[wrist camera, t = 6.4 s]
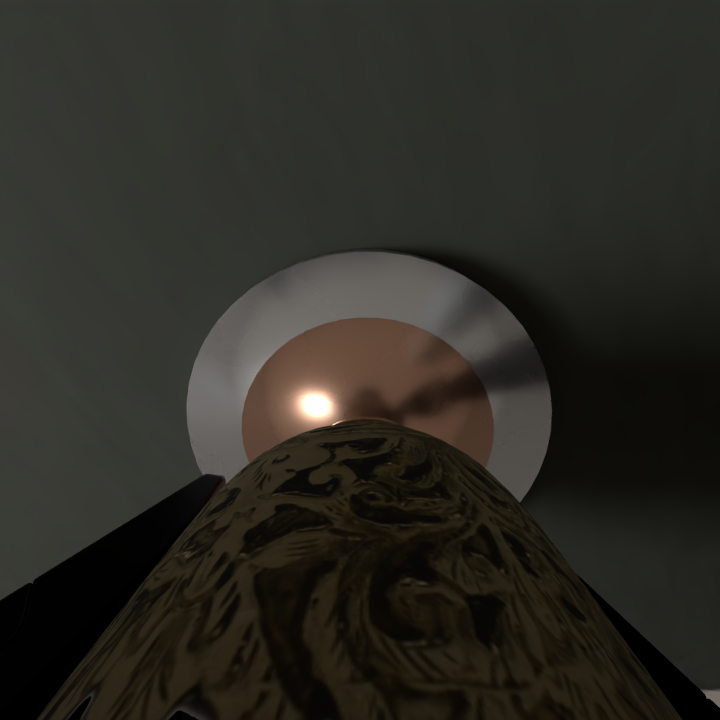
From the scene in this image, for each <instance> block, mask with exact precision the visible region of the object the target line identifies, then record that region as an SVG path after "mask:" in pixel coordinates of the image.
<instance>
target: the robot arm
mask: <svg viewBox="0 0 720 720" xmlns="http://www.w3.org/2000/svg"><path fill="white" fill-rule="evenodd" d="M224 485H226V479H225V477H224V476H221V475H215V474H210V473H207V474H204V475H203V476H201V477H199V478H198V479H196V480H195V481H193V482H191V483H190V484H188V485H186V486H185V487H183V488H182V489H180V490H178V491H177V492H175V493H173V494H172V495H170V496H169V497H167V498H165V499H164V500H162V501H161V502H159V503H157V504H156V505H154V506H152V507H151V508H149V509H148V510H146V511H144V512H143V513H141V514H139V515H138V516H136V517H135V518H133V519H131V520H130V521H128V522H127V523H125V524H123V525H122V526H120V527H118V528H117V529H115V530H114V531H112V532H110V533H109V534H107V535H105V536H104V537H102V538H101V539H99V540H97V541H96V542H94V543H93V544H91V545H89V546H88V547H86V548H84V549H83V550H81V551H80V552H78V553H76V554H75V555H73V556H72V557H70V558H68V559H67V560H65V561H63V562H62V563H60V564H59V565H57V566H55V567H54V568H52V569H50V570H49V571H47V572H46V573H44V574H42V575H41V576H39V577H38V578H36V579H35V580H34V581H33V584H32V583H28V584H26V585H24V586H23V587H21V588H19V589H18V590H16V591H15V592H13V593H11V594H10V595H8V596H6V597H5V598H3V599H2V600H0V720H36V719H37V718H38V716H39V715H40V714H41V713H42V711H43V710H44V709H45V707H46V706H47V705H48V703H49V702H50V701H51V700H52V698H53V697H54V696H55V694H56V693H57V692H58V691H59V689H60V688H61V687H62V685H63V684H64V683H65V682H66V680H67V679H68V678H69V676H70V675H71V674H72V673H73V671H74V670H75V669H76V667H77V666H78V665H79V663H80V662H81V661H82V660H83V658H84V657H85V656H86V654H87V653H88V652H89V651H90V649H91V648H92V647H93V645H94V644H95V643H96V642H97V640H98V639H99V638H100V636H101V635H102V634H103V633H104V631H105V630H106V629H107V628H108V626H109V625H110V624H111V622H112V621H113V620H114V619H115V617H116V616H117V615H118V613H119V612H120V611H121V610H122V608H123V607H124V606H125V605H126V603H127V602H128V601H129V599H130V598H131V597H132V596H133V594H134V593H135V592H136V591H137V589H138V588H139V587H140V585H141V584H142V583H143V582H144V580H145V579H146V578H147V577H148V575H149V574H150V573H151V572H152V570H153V569H154V568H155V567H156V565H157V564H158V563H159V561H160V560H161V559H162V558H163V556H164V555H165V554H166V553H167V551H168V550H169V549H170V548H171V546H172V545H173V544H174V543H175V541H176V540H177V539H178V538H179V536H180V535H181V534H182V533H183V531H184V530H185V529H186V528H187V527H188V525H189V524H190V523H191V522H192V521H193V519H194V518H195V517H196V516H197V515H198V513H199V512H200V511H201V510H202V509H203V508H204V507H205V505H206V504H207V503H208V502H209V501H210V500H211V499H212V498H213V497H214V496H215V495H216V494H217V493H218V492H219V490H220V489H221V488H222V487H223V486H224ZM576 575H577V574H576ZM577 576H578V575H577ZM578 577H579V576H578ZM579 579H580V580H581V581H582V583H583V584H584V585H585V587H586V588H587V590H588V591H589V592H590V594H591V595H592V596H593V598H594V599H595V600H596V602H597V603H598V604H599V606H600V607H601V609H602V610H603V611H604V613H605V614H606V615H607V617H608V618H609V619H610V621H611V622H612V624H613V625H614V626H615V628H616V629H617V630H618V632H619V633H620V634H621V636H622V637H623V639H624V640H625V641H626V643H627V644H628V645H629V647H630V648H631V650H632V651H633V652H634V654H635V655H636V656H637V658H638V659H639V661H640V662H641V663H642V665H643V666H644V667H645V669H646V670H647V672H648V673H649V674H650V676H651V677H652V678H653V680H654V681H655V683H656V684H657V685H658V687H659V688H660V689H661V691H662V692H663V694H664V695H665V696H666V698H667V699H668V701H669V702H670V703H671V705H672V706H673V707H674V709H675V710H676V712H677V713H678V714H679V716H680V717H681V718H682V720H720V708H719V707H718V706H717V705H716V704H715V703H714V702H713V701H711V700H710V699H706V696H705V694H704V693H703V692H702V691H701V690H700V689H699V688H698V687H697V686H696V685H695V684H693V683H692V682H691V681H690V680H689V679H688V678H687V677H686V676H685V675H684V674H683V673H682V672H681V671H680V670H679V669H677V668H676V667H675V666H674V665H673V664H672V663H671V662H670V661H669V660H668V659H667V658H666V657H665V656H664V655H663V654H661V653H660V652H659V651H658V650H657V649H656V648H655V647H654V646H653V645H652V644H651V643H650V642H649V641H648V640H647V639H645V638H644V637H643V636H642V635H641V634H640V633H639V632H638V631H637V630H636V629H635V628H634V627H633V626H632V625H631V624H629V623H628V622H627V621H626V620H625V619H624V618H623V617H622V616H621V615H620V614H619V613H618V612H617V611H616V610H615V609H613V608H612V607H611V606H610V605H609V604H608V603H607V602H606V601H605V600H604V599H603V598H602V597H601V596H600V595H599V594H597V593H596V592H595V591H594V590H593V589H592V588H591V587H590V586H589V585H588V584H587V583H586V582H585V581H584V580H583V579H581V578H580V577H579Z"/></svg>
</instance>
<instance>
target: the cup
mask: <svg viewBox="0 0 720 720" xmlns="http://www.w3.org/2000/svg"><path fill="white" fill-rule="evenodd" d="M36 720H682V718H681V717H680V716H679V714H678V713H677V712H676V710H675V709H674V707H673V706H672V705H671V703H670V702H669V701H668V699H667V698H666V696H665V695H664V694H663V692H662V691H661V689H660V688H659V687H658V685H657V684H656V683H655V681H654V680H653V678H652V677H651V676H650V674H649V673H648V672H647V670H646V669H645V667H644V666H643V665H642V663H641V662H640V661H639V659H638V658H637V656H636V655H635V654H634V652H633V651H632V650H631V648H630V647H629V645H628V644H627V643H626V641H625V640H624V639H623V637H622V636H621V634H620V633H619V632H618V630H617V629H616V628H615V626H614V625H613V624H612V622H611V621H610V619H609V618H608V617H607V615H606V614H605V613H604V611H603V610H602V609H601V607H600V606H599V604H598V603H597V602H596V600H595V599H594V598H593V596H592V595H591V594H590V592H589V591H588V590H587V588H586V587H585V585H584V584H583V583H582V581H581V580H580V579H579V577H578V576H577V575H576V573H575V572H574V571H573V569H572V568H571V567H570V565H569V564H568V563H567V561H566V560H565V558H564V557H563V556H562V555H561V553H560V552H559V551H558V549H557V548H556V547H555V546H554V544H553V543H552V542H551V540H550V539H549V538H548V537H547V535H546V534H545V533H544V531H543V530H542V529H541V528H540V526H539V525H538V524H537V523H536V522H535V520H534V519H533V518H532V517H531V515H530V514H529V513H528V512H527V511H526V510H525V508H524V507H523V506H522V505H521V504H520V503H519V501H518V500H517V499H516V498H515V497H514V496H513V495H512V493H511V492H510V491H509V490H508V489H507V488H506V487H505V486H504V485H502V484H501V483H500V482H499V481H498V480H497V479H496V478H495V477H494V476H493V475H492V474H491V473H490V472H489V471H488V470H486V469H485V468H484V467H483V466H482V465H481V464H480V463H478V462H477V461H475V460H474V459H473V458H471V457H470V456H469V455H467V454H465V453H464V452H462V451H460V450H459V449H457V448H455V447H454V446H452V445H450V444H448V443H446V442H445V441H443V440H441V439H439V438H436V437H434V436H432V435H429V434H427V433H424V432H421V431H418V430H415V429H411V428H408V427H405V426H403V425H401V424H399V423H397V422H394V421H392V420H389V419H386V418H381V417H375V416H358V417H352V418H347V419H344V420H341V421H339V422H336V423H334V424H332V425H330V426H325V427H320V428H316V429H313V430H310V431H307V432H303V433H301V434H299V435H296V436H294V437H292V438H289V439H287V440H286V441H284V442H282V443H280V444H278V445H276V446H275V447H273V448H271V449H269V450H268V451H266V452H264V453H262V454H261V455H260V456H258V457H257V458H256V459H254V460H253V461H251V462H250V463H249V464H248V465H247V466H245V467H244V468H243V469H242V470H241V471H240V472H239V473H237V474H236V475H235V476H234V477H233V478H232V479H231V480H230V481H229V482H228V483H227V484H226V485H224V486H223V487H222V488H221V489H220V490H219V492H218V493H217V494H216V495H215V496H214V497H213V498H212V499H211V500H210V501H209V502H208V503H207V504H206V505H205V507H204V508H203V509H202V510H201V511H200V512H199V513H198V515H197V516H196V517H195V518H194V519H193V521H192V522H191V523H190V524H189V525H188V527H187V528H186V529H185V530H184V531H183V533H182V534H181V535H180V536H179V538H178V539H177V540H176V541H175V543H174V544H173V545H172V546H171V548H170V549H169V550H168V551H167V553H166V554H165V555H164V556H163V558H162V559H161V560H160V561H159V563H158V564H157V565H156V567H155V568H154V569H153V570H152V572H151V573H150V574H149V575H148V577H147V578H146V579H145V580H144V582H143V583H142V584H141V585H140V587H139V588H138V589H137V591H136V592H135V593H134V594H133V596H132V597H131V598H130V599H129V601H128V602H127V603H126V605H125V606H124V607H123V608H122V610H121V611H120V612H119V613H118V615H117V616H116V617H115V619H114V620H113V621H112V622H111V624H110V625H109V626H108V628H107V629H106V630H105V631H104V633H103V634H102V635H101V636H100V638H99V639H98V640H97V642H96V643H95V644H94V645H93V647H92V648H91V649H90V651H89V652H88V653H87V654H86V656H85V657H84V658H83V660H82V661H81V662H80V663H79V665H78V666H77V667H76V669H75V670H74V671H73V673H72V674H71V675H70V676H69V678H68V679H67V680H66V682H65V683H64V684H63V685H62V687H61V688H60V689H59V691H58V692H57V693H56V694H55V696H54V697H53V698H52V700H51V701H50V702H49V703H48V705H47V706H46V707H45V709H44V710H43V711H42V713H41V714H40V715H39V716H38V718H37V719H36Z"/></svg>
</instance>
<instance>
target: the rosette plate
mask: <svg viewBox="0 0 720 720" xmlns="http://www.w3.org/2000/svg"><path fill="white" fill-rule="evenodd" d="M358 416H375V417H381V418H386V419H389V420H392V421H394V422H397V423H399V424H401V425H403V426H405V427H408V428H411V429H415V430H418V431H421V432H424V433H427V434H429V435H432V436H434V437H436V438H439V439H441V440H443V441H445V442H446V443H448V444H450V445H452V446H454V447H455V448H457V449H459V450H460V451H462V452H464V453H465V454H467V455H469V456H470V457H471V458H473V459H474V460H475V461H477V462H478V463H480V464H481V465H482V466H483V467H484V468H485V469H486V470H488V471H489V472H490V473H491V474H492V475H493V476H494V477H495V478H496V479H497V480H498V481H499V482H500V483H501V484H502V485H504V486H505V487H506V488H507V489H508V490H509V491H510V492H511V493H512V495H513V496H514V497H515V498H516V499H517V500H518V501H519V503H520V502H521V500H522V499H523V498H524V496H525V495H526V493H527V492H528V491H529V489H530V488H531V486H532V484H533V482H534V480H535V478H536V476H537V475H538V473H539V471H540V468H541V465H542V463H543V460H544V457H545V454H546V452H547V447H548V442H549V437H550V433H551V418H552V406H551V395H550V387H549V383H548V380H547V376H546V372H545V368H544V365H543V363H542V361H541V358H540V356H539V354H538V352H537V349H536V347H535V345H534V343H533V342H532V340H531V339H530V337H529V335H528V334H527V332H526V331H525V329H524V328H523V326H522V325H521V323H520V322H519V321H518V320H517V319H516V318H515V317H514V315H513V314H512V313H511V312H510V311H509V310H508V309H507V307H506V306H505V305H503V304H502V303H501V302H500V301H499V300H497V299H496V298H495V297H494V296H493V295H492V294H490V293H489V292H488V291H487V290H486V289H484V288H483V287H481V286H479V285H478V284H476V283H475V282H473V281H471V280H470V279H468V278H467V277H465V276H463V275H462V274H460V273H458V272H457V271H455V270H454V269H452V268H449V267H447V266H445V265H443V264H440V263H438V262H436V261H434V260H431V259H428V258H425V257H421V256H418V255H414V254H411V253H407V252H401V251H394V250H387V249H350V250H342V251H334V252H329V253H325V254H322V255H318V256H315V257H311V258H307V259H305V260H303V261H300V262H298V263H296V264H293V265H291V266H289V267H286V268H284V269H282V270H281V271H279V272H277V273H275V274H274V275H272V276H270V277H269V278H267V279H265V280H264V281H262V282H261V283H259V284H257V285H256V286H254V287H252V288H251V289H250V290H249V291H248V292H246V293H245V294H244V295H243V296H242V297H240V298H239V299H238V300H237V301H236V302H234V303H233V304H232V305H231V306H230V308H229V309H228V310H227V311H226V312H225V313H224V314H223V315H222V317H221V318H220V319H219V320H218V321H217V322H216V324H215V325H214V327H213V328H212V330H211V332H210V333H209V335H208V336H207V338H206V339H205V341H204V343H203V345H202V347H201V349H200V352H199V354H198V356H197V358H196V361H195V363H194V367H193V370H192V374H191V378H190V381H189V388H188V397H187V426H188V431H189V436H190V442H191V446H192V449H193V452H194V455H195V458H196V461H197V464H198V466H199V468H200V470H201V472H202V474H203V475H204V474H207V473H210V474H215V475H221V476H224V477H225V479H226V484H227V483H228V482H229V481H230V480H231V479H232V478H233V477H234V476H235V475H236V474H237V473H239V472H240V471H241V470H242V469H243V468H244V467H245V466H247V465H248V464H249V463H250V462H251V461H253V460H254V459H256V458H257V457H258V456H260V455H261V454H262V453H264V452H266V451H268V450H269V449H271V448H273V447H275V446H276V445H278V444H280V443H282V442H284V441H286V440H287V439H289V438H292V437H294V436H296V435H299V434H301V433H303V432H307V431H310V430H313V429H316V428H320V427H325V426H330V425H332V424H334V423H336V422H339V421H341V420H344V419H347V418H352V417H358Z"/></svg>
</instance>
